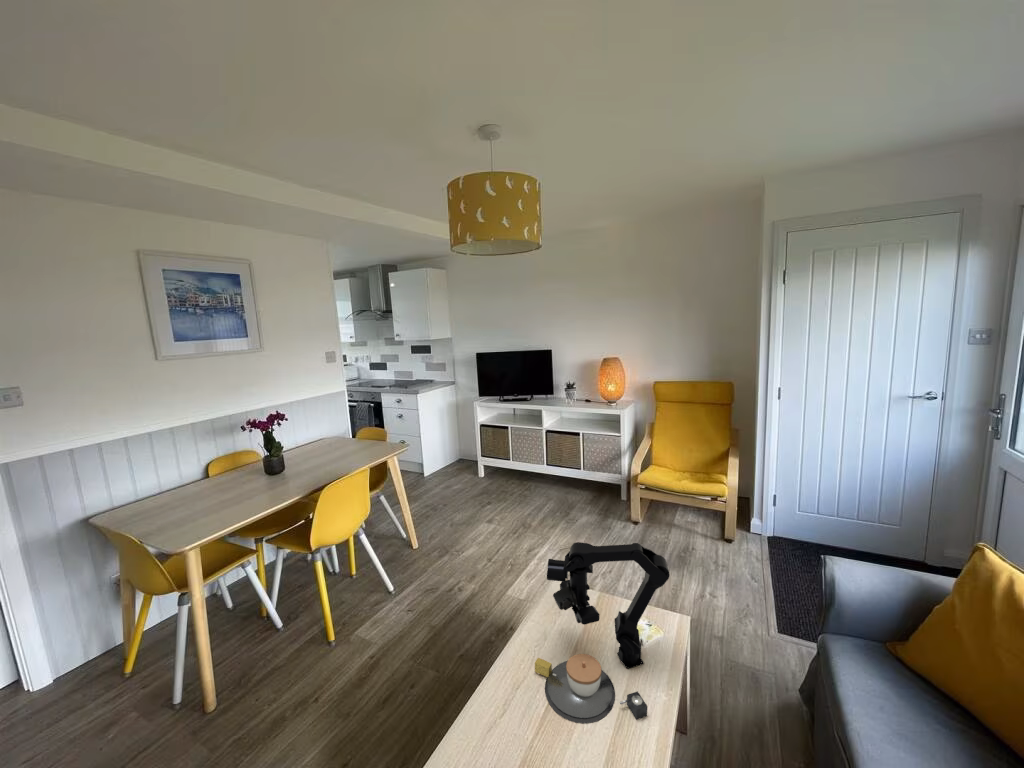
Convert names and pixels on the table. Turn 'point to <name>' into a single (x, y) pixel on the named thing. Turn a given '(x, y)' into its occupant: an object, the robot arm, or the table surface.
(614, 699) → the turntable base
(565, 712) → the turntable
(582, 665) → the lidded jar
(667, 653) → the table surface
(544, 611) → the table surface
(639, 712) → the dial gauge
